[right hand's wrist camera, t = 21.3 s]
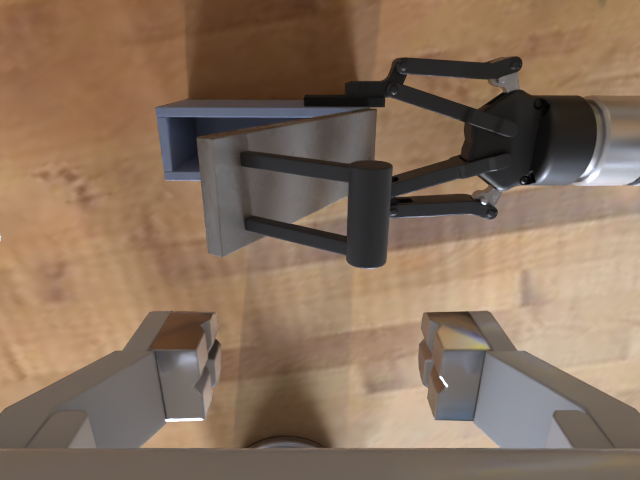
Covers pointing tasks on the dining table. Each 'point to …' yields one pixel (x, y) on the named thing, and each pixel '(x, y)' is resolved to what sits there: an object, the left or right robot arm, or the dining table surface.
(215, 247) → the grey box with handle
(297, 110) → the chest
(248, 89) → the dining table surface
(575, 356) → the dining table surface
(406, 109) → the dining table surface
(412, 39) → the dining table surface
